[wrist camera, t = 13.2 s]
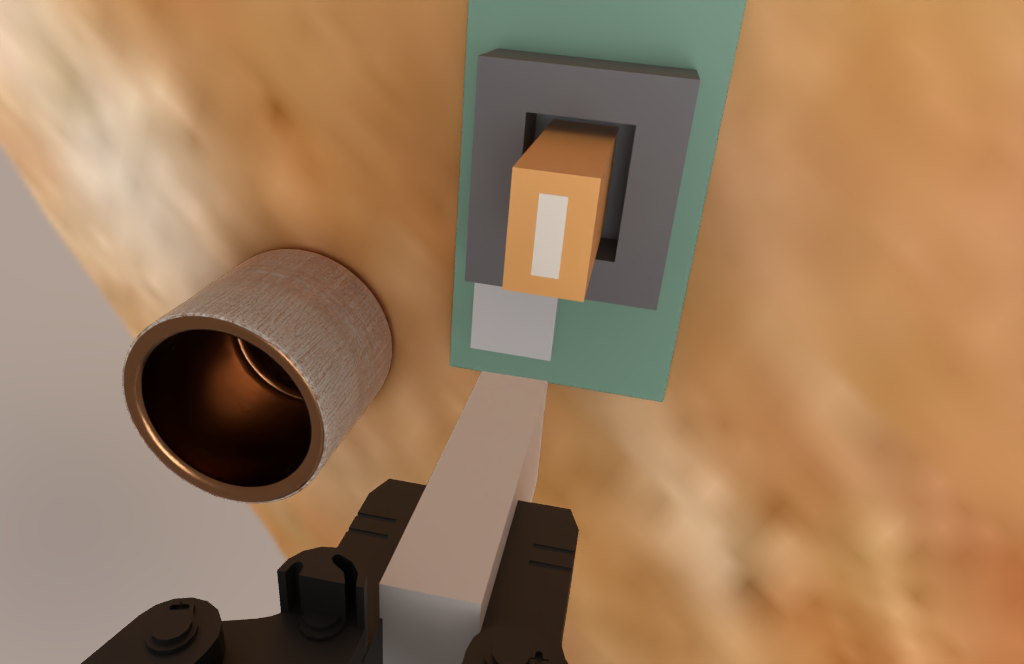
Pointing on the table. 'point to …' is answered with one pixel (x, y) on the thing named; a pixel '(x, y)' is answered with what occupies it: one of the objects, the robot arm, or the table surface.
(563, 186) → the plug
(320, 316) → the planter
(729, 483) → the table surface
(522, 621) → the robot arm
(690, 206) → the board
